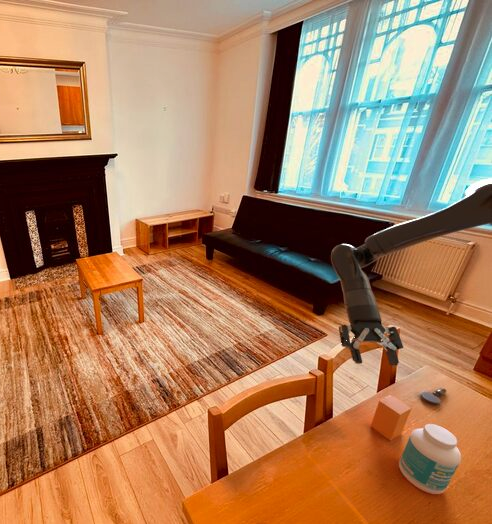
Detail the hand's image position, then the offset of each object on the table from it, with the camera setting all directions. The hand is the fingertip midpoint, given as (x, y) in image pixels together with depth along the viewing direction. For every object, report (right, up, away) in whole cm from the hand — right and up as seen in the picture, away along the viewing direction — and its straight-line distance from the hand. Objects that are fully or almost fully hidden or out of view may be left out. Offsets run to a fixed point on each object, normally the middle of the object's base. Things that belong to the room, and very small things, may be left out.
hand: (376, 364), depth 74 cm
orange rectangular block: (-1, -16, -4) cm, 16 cm away
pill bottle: (-2, -20, -14) cm, 25 cm away
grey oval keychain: (+21, -11, +5) cm, 24 cm away
